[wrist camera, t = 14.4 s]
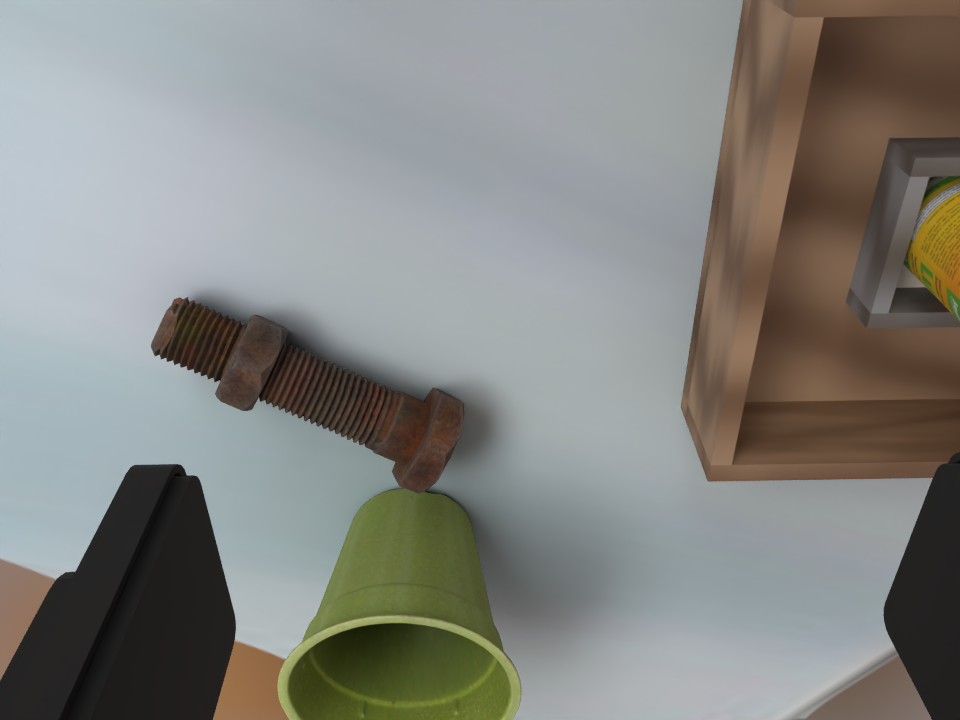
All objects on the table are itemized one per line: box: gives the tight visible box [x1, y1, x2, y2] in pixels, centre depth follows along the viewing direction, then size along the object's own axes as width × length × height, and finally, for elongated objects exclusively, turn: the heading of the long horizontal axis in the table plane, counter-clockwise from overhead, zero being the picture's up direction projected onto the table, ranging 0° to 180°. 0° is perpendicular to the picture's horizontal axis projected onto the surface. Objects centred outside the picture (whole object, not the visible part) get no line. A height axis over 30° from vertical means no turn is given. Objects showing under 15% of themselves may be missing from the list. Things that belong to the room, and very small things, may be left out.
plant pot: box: [278, 488, 521, 720], centre depth 45 cm, size 12×12×11 cm
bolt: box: [151, 297, 464, 494], centre depth 41 cm, size 6×5×15 cm
